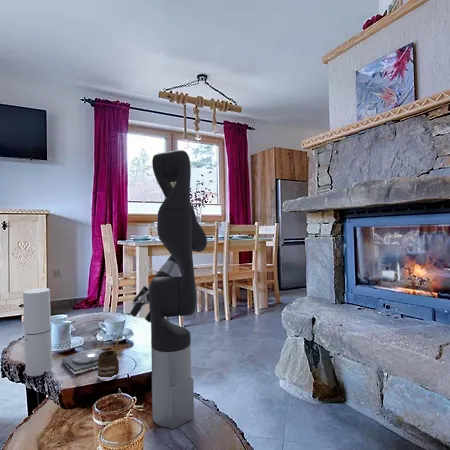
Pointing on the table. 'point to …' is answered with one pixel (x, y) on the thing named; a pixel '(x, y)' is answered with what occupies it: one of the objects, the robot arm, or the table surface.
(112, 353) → the utensil holder
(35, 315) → the cylindrical container
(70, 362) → the flange
